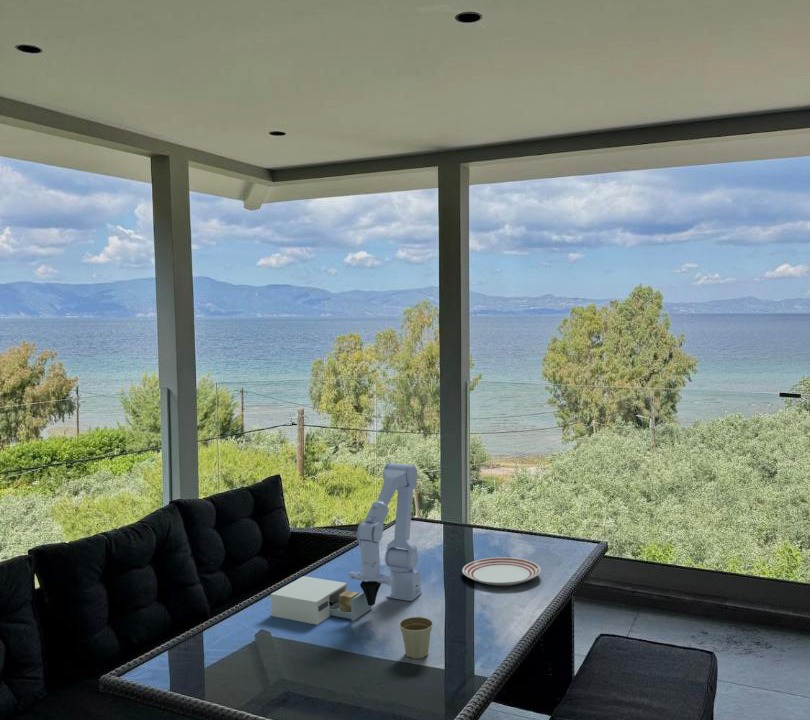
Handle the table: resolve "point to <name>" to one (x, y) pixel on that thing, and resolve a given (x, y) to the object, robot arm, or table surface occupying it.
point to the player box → (306, 599)
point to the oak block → (346, 600)
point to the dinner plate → (501, 571)
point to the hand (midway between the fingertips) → (371, 604)
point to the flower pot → (416, 636)
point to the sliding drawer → (352, 608)
